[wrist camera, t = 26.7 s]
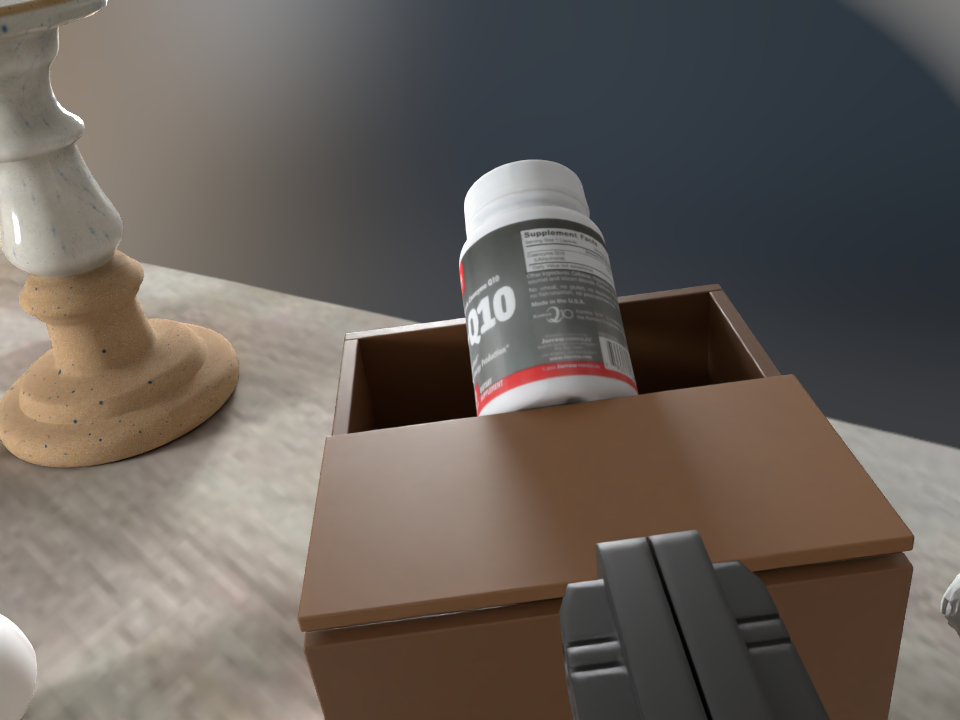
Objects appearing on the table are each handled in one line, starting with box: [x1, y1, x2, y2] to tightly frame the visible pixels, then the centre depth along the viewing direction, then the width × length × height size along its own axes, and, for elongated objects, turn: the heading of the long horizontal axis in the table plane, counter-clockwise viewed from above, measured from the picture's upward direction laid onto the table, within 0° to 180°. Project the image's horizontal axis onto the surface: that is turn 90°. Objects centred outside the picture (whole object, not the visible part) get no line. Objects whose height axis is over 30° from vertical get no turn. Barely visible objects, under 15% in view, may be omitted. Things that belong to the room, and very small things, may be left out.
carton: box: [303, 284, 913, 720], centre depth 27 cm, size 13×14×10 cm
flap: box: [298, 374, 914, 632], centre depth 22 cm, size 13×7×1 cm, turn 94°
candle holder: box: [0, 0, 239, 468], centre depth 43 cm, size 12×12×20 cm
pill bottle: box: [459, 160, 638, 416], centre depth 28 cm, size 5×5×8 cm
